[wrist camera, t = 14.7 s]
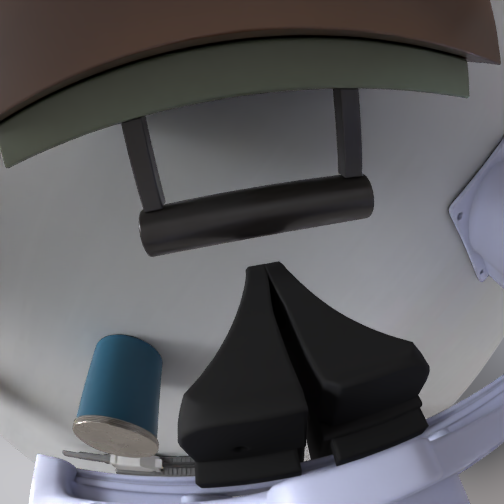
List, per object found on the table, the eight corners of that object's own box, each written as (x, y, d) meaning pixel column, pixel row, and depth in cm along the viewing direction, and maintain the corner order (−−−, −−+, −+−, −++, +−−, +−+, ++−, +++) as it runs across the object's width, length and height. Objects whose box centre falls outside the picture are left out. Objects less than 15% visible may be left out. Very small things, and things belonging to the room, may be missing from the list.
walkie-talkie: (210, 448, 27) (60, 440, 25) (212, 482, 23) (55, 468, 21) (222, 468, 31) (92, 464, 30) (225, 496, 27) (89, 488, 26)
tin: (177, 356, 18) (174, 445, 13) (144, 387, 20) (136, 463, 14) (110, 320, 16) (85, 412, 10) (85, 358, 17) (64, 436, 12)
